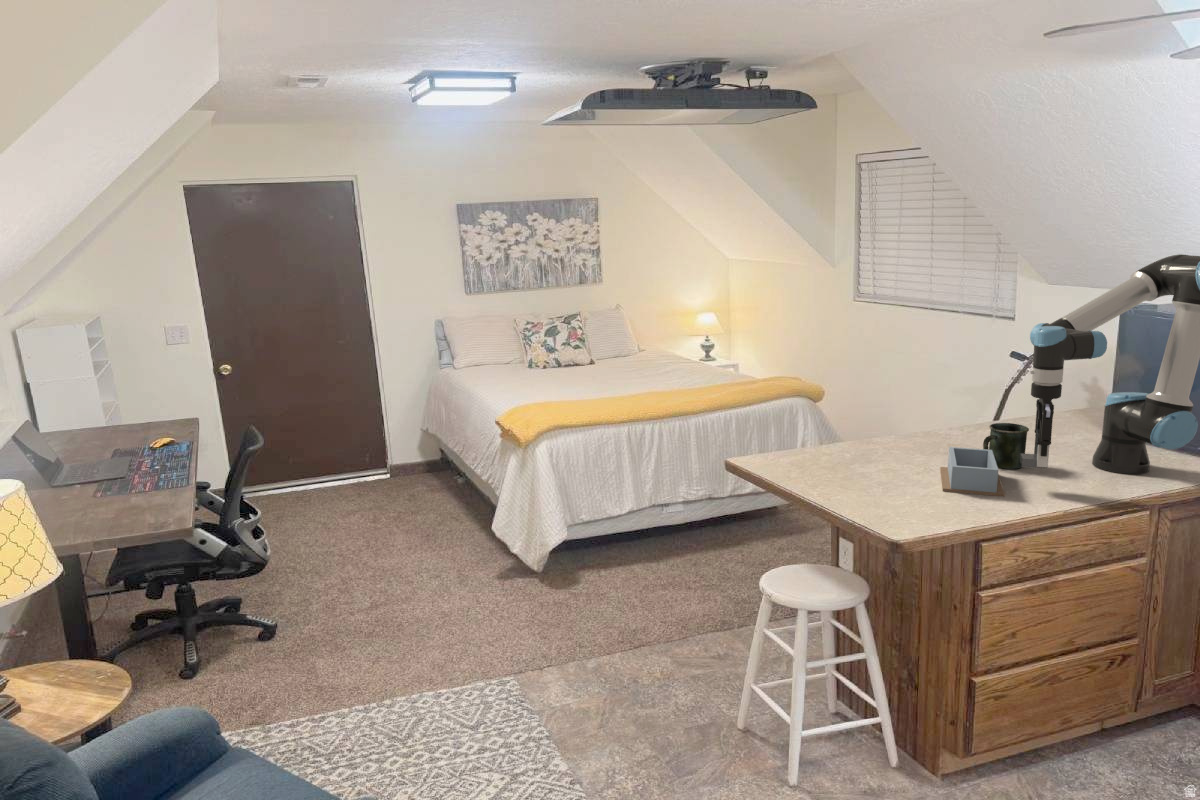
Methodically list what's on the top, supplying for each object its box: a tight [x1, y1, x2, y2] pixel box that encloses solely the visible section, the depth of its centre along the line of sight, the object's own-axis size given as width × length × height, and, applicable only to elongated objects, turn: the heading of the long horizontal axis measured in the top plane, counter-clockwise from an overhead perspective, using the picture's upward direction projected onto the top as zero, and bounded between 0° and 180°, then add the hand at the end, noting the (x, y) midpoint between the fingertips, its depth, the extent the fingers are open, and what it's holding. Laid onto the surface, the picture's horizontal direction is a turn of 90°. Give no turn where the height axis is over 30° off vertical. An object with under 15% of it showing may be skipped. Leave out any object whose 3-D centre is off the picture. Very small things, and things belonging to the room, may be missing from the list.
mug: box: [982, 422, 1030, 470], centre depth 274 cm, size 11×15×12 cm
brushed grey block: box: [1020, 429, 1050, 469], centre depth 251 cm, size 6×5×10 cm
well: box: [939, 446, 1005, 497], centre depth 259 cm, size 16×21×7 cm
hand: (1040, 463), depth 251 cm, fingers closed on brushed grey block, 5 cm apart
